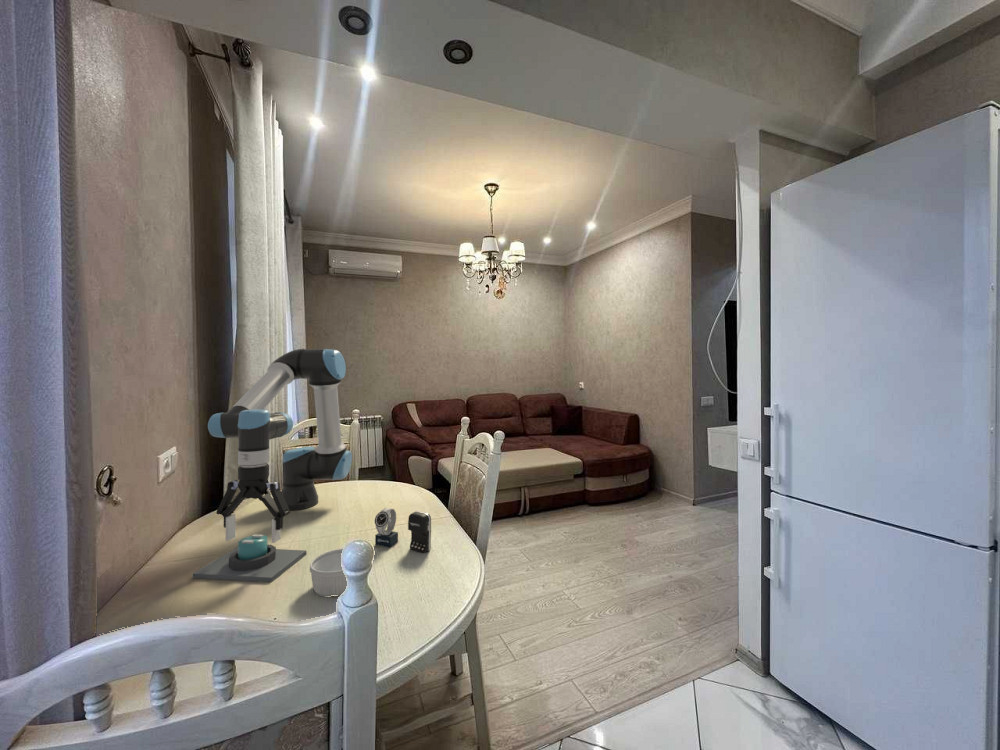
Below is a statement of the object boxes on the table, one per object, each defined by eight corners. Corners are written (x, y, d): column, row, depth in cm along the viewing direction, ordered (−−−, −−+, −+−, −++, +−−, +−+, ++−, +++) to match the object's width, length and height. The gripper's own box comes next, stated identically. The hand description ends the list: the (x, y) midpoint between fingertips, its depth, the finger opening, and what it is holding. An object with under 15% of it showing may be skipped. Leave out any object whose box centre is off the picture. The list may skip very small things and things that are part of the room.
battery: (406, 549, 123) (406, 513, 123) (414, 545, 126) (414, 509, 126) (423, 555, 119) (423, 517, 119) (431, 550, 123) (431, 513, 123)
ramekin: (308, 605, 93) (308, 576, 93) (310, 579, 105) (310, 552, 105) (367, 593, 98) (367, 565, 98) (363, 569, 110) (363, 544, 110)
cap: (249, 555, 116) (250, 532, 116) (272, 556, 115) (272, 533, 115) (231, 566, 109) (231, 542, 109) (256, 567, 108) (256, 543, 108)
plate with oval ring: (237, 551, 121) (237, 539, 121) (306, 554, 119) (306, 542, 119) (192, 577, 105) (192, 564, 105) (271, 582, 103) (271, 568, 103)
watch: (371, 547, 124) (371, 512, 124) (386, 537, 132) (386, 504, 132) (386, 549, 123) (387, 514, 123) (401, 539, 130) (401, 506, 130)
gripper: (201, 466, 109) (200, 543, 109) (287, 469, 107) (287, 547, 107) (222, 460, 117) (222, 532, 117) (303, 462, 115) (303, 536, 115)
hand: (253, 539), depth 112 cm, fingers open, 13 cm apart
